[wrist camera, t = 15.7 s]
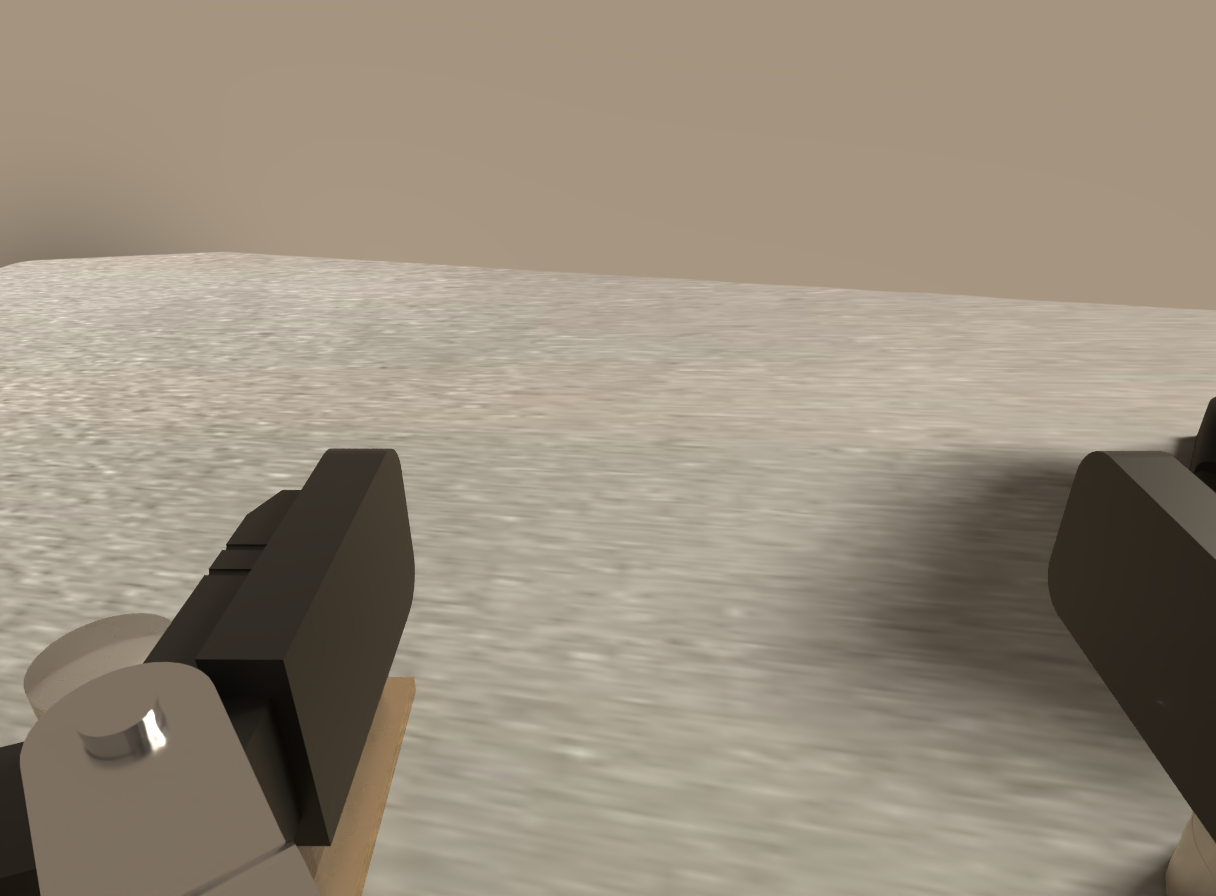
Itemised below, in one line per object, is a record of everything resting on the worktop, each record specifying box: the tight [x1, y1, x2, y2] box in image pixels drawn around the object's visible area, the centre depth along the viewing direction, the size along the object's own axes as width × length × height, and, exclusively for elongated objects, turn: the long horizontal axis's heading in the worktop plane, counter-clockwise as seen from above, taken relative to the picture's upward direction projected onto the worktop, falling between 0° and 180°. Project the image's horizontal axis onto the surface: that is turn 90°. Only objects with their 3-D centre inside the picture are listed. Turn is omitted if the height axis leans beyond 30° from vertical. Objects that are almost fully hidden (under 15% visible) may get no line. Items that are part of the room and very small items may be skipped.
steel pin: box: [24, 613, 172, 720], centre depth 33 cm, size 5×5×15 cm
